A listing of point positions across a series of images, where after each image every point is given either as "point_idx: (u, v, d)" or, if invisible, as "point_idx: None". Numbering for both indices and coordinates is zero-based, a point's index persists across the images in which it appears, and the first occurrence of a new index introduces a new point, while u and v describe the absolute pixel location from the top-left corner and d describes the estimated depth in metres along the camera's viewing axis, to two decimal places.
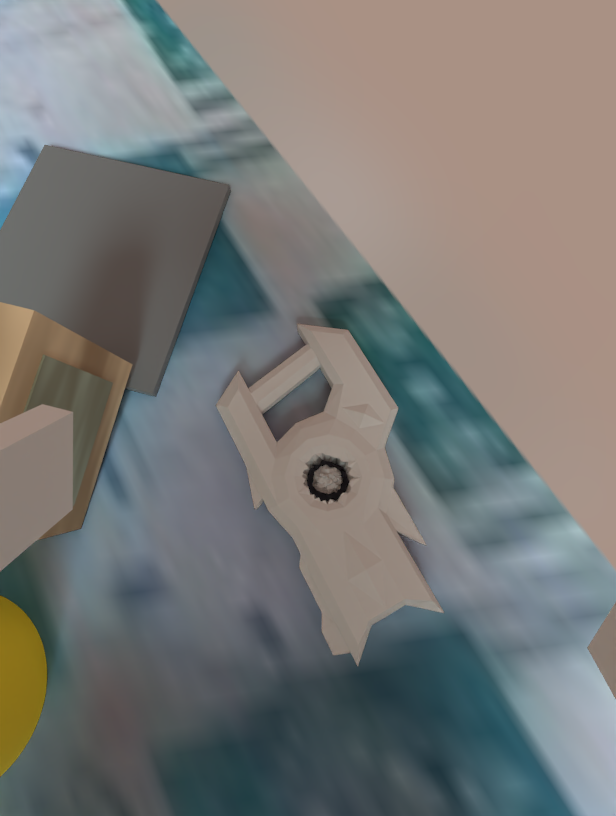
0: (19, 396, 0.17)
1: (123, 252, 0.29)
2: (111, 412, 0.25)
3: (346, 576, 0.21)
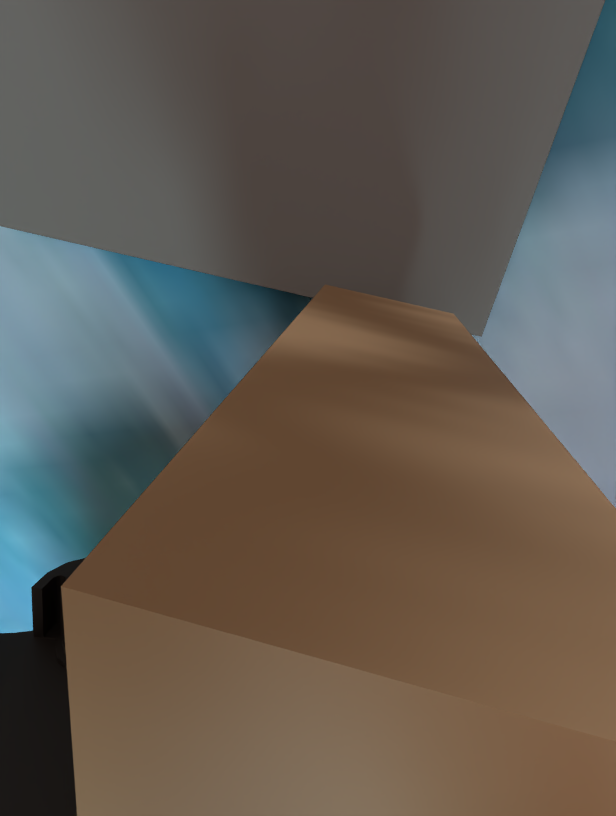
0: None
1: None
2: None
3: None
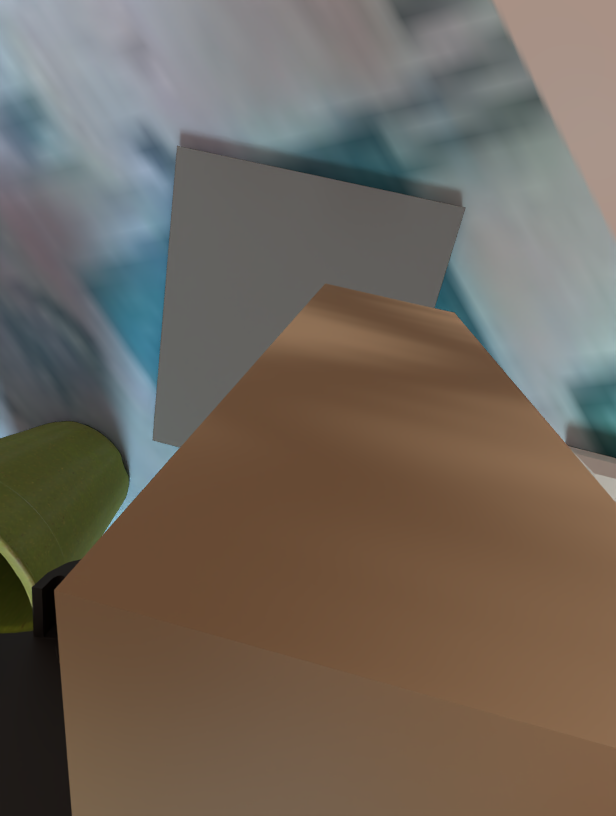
0: None
1: None
2: None
3: None
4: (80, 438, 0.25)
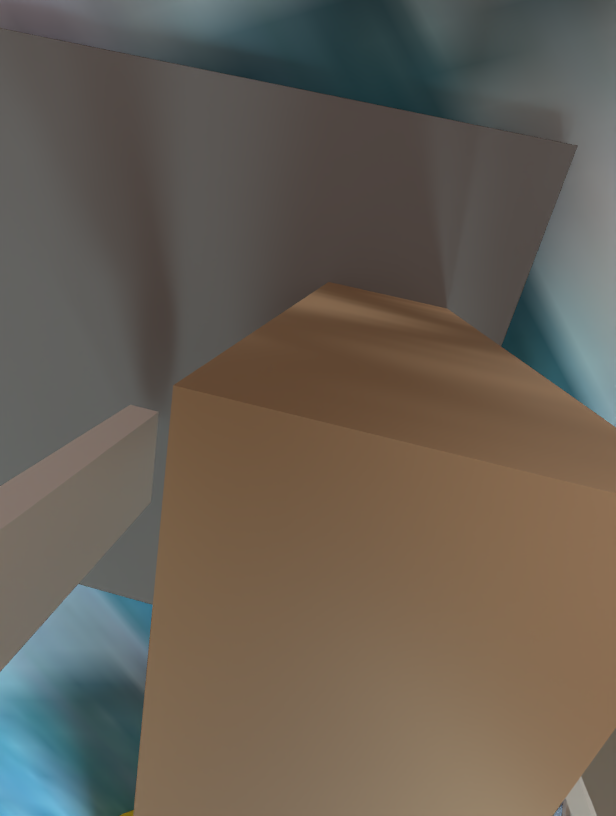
0: None
1: None
2: None
3: None
4: None
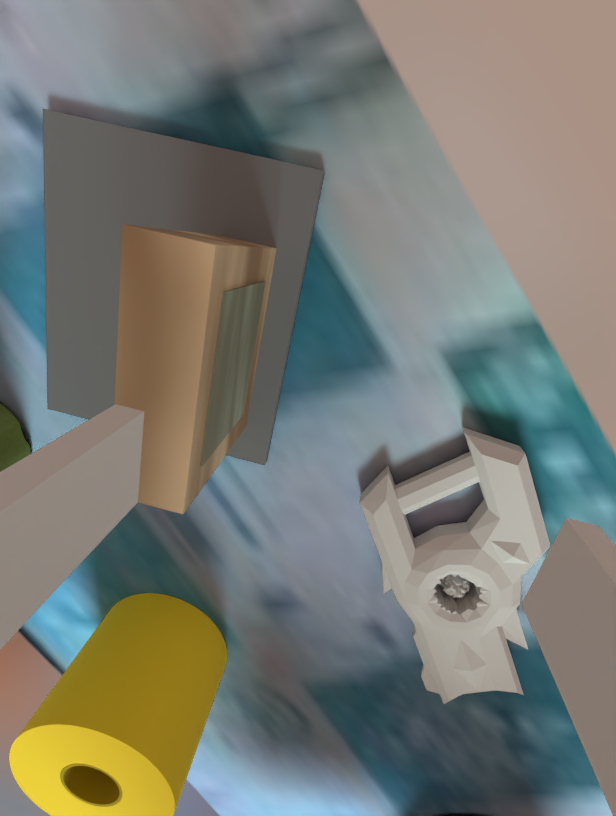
0: (211, 348, 0.15)
1: None
2: (263, 311, 0.22)
3: (453, 666, 0.26)
4: None
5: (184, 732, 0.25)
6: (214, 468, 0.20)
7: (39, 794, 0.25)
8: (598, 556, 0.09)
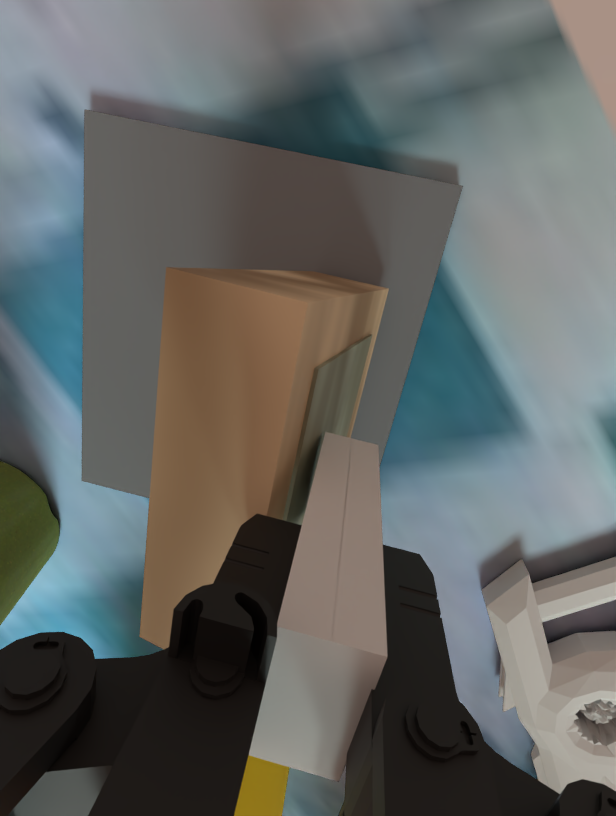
0: (290, 454, 0.09)
1: None
2: (365, 371, 0.16)
3: None
4: None
5: None
6: None
7: None
8: (352, 461, 0.10)
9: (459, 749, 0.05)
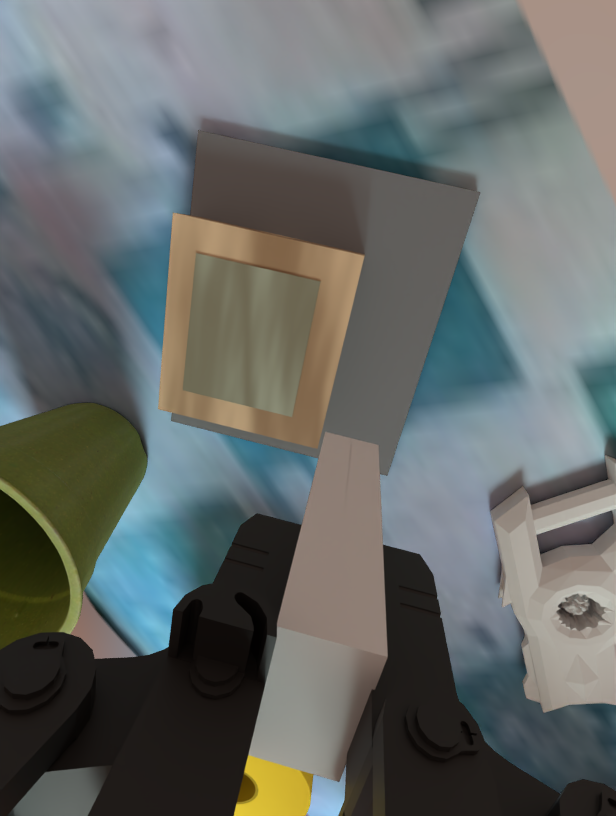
0: (182, 292, 0.21)
1: None
2: (335, 320, 0.20)
3: (564, 678, 0.27)
4: (101, 418, 0.26)
5: None
6: (219, 421, 0.23)
7: None
8: (353, 461, 0.10)
9: (460, 749, 0.05)
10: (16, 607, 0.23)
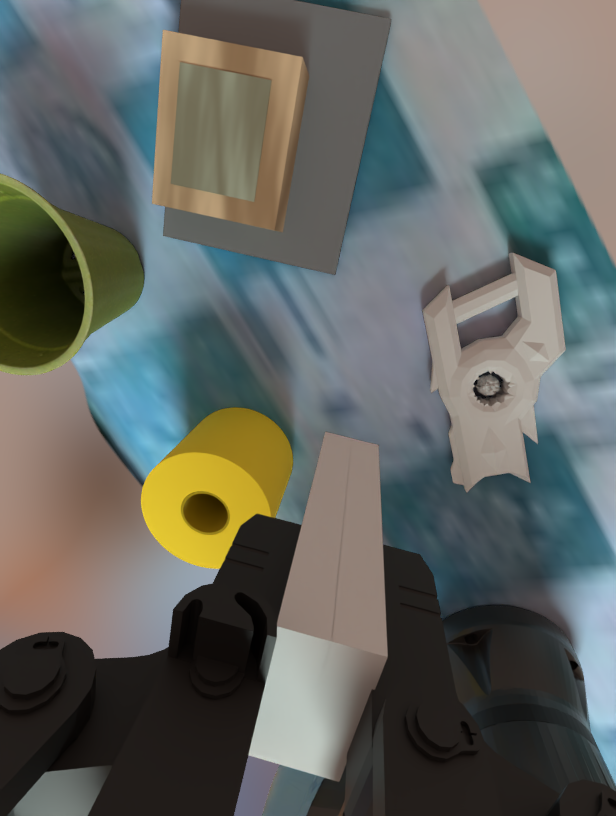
0: (170, 96, 0.28)
1: None
2: (283, 113, 0.27)
3: (480, 451, 0.34)
4: (108, 228, 0.33)
5: (273, 480, 0.33)
6: (199, 211, 0.30)
7: (161, 529, 0.33)
8: (352, 461, 0.10)
9: (460, 749, 0.05)
10: (41, 352, 0.29)
